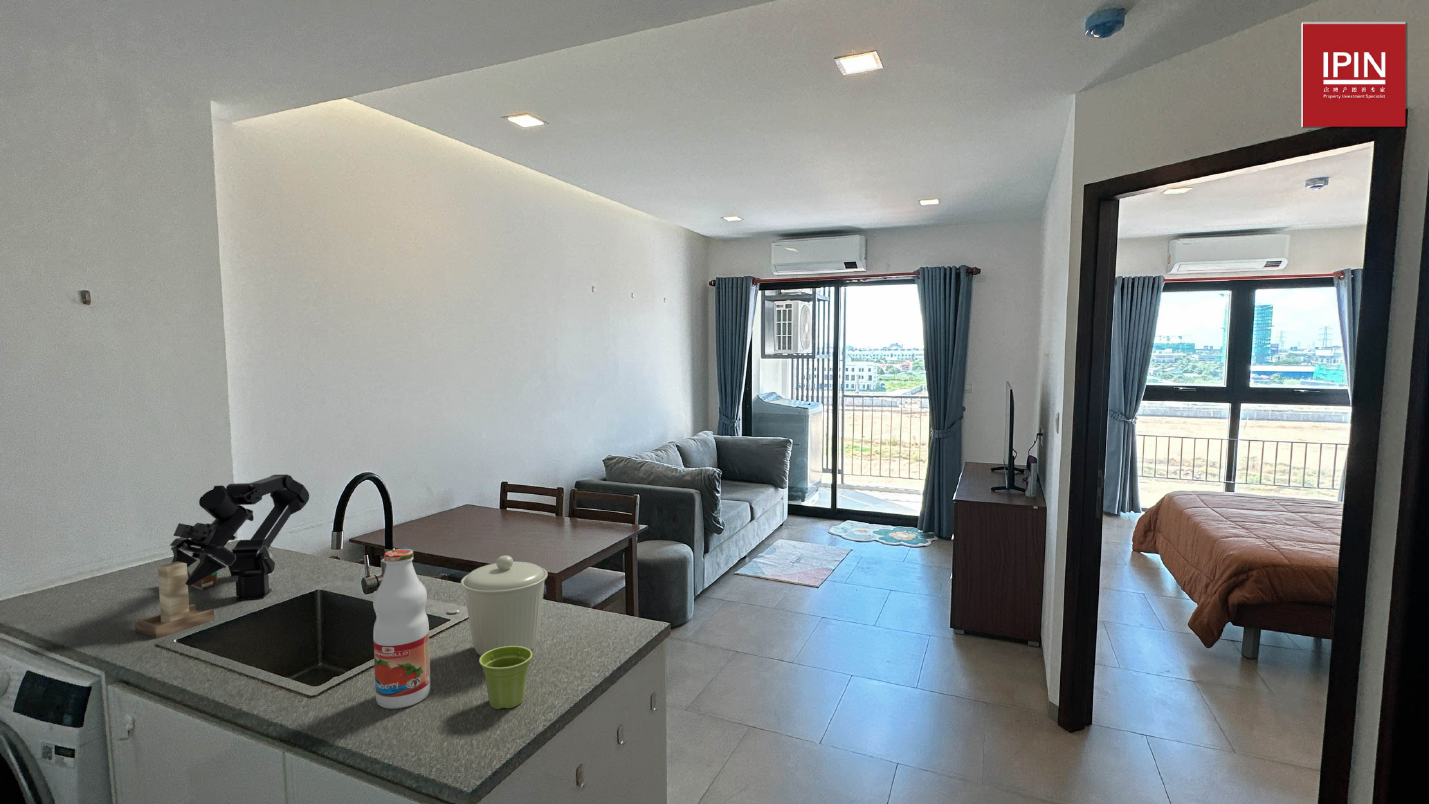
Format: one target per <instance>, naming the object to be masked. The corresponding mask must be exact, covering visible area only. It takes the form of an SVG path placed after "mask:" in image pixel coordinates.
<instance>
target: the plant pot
mask: <svg viewBox="0 0 1429 804" xmlns="http://www.w3.org/2000/svg"><path fill="white" fill-rule="evenodd" d="M532 658H533V651H532V650H530V649H528V648H525V647H521V646H505V647H499V648H496V649H492V650H490V651H488V652H486V653H484V654H483V655H482V656H480V657H479V660H478V661H479V665H480V666H481V667H482V671H483V672H484V678H485V682H486V689H487V696H488V702H489V705H490V707H492V708H493V709H496V710H501V709H503V708H505V709H512V708H514V707H515V708H516V707H517V706H519V705H520V704H521V703H523V700H524V698H525V691H526V682H527V676H528V670H529V666H530V664H531V663H530V661H531V659H532Z"/></svg>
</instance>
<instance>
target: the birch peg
mask: <svg viewBox="0 0 1429 804" xmlns="http://www.w3.org/2000/svg"><path fill="white" fill-rule="evenodd" d="M157 575H158V591H159V593H158V594H159V595H158V596H159V609H160V610H159V611H160V612H159V614H161V623H162V624H165V623H168V622H171V621H175V620H178V619H181V618H184V617H188V616H189V605H190V603H189V602H190V601H189V599H190V598H189V586H188V585H186V584H185V583H186V581H187V580H188V575H187V563H182V562H178V561H177V562H173V563H172V562H170V563H165V564H161V565H158V566H157Z"/></svg>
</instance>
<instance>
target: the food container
mask: <svg viewBox="0 0 1429 804" xmlns="http://www.w3.org/2000/svg"><path fill="white" fill-rule="evenodd" d="M194 559H196V560H197V561H196V562H194V563H193V564H192V565H190V566H189V567H187V579H188V578H189V577H190V575H191V574H192V573H193V571H194V570H195V568H196V567H197V566H198V564H199V563H200V557H198V558H194ZM217 584H218V571H216V572H214V573H212V574H210V575H208V576H207V577H205V578H203V579H201V580H199V581H198V582H196V583H194V584H192V585H190V586H192V587H194V588H196V589H198V590H201V591H204V590H208V589H210V588H213V587H215V586H216V585H217Z"/></svg>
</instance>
